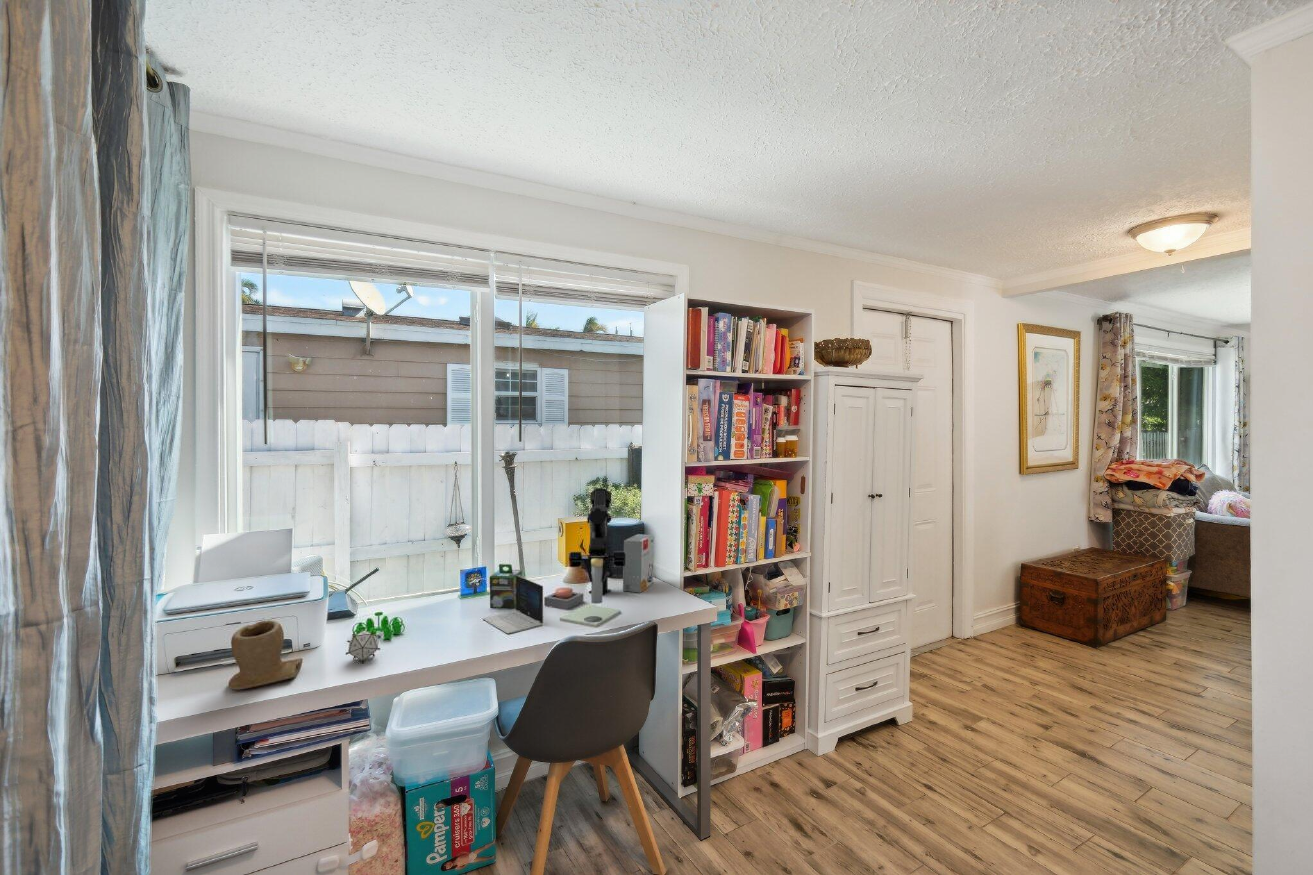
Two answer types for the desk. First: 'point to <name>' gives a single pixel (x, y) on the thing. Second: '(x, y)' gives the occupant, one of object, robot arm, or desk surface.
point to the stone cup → (261, 656)
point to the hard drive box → (638, 563)
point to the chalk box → (503, 587)
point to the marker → (596, 580)
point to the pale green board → (590, 615)
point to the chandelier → (384, 626)
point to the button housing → (563, 601)
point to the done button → (564, 593)
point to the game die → (363, 645)
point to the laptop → (522, 609)
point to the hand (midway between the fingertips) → (596, 581)
